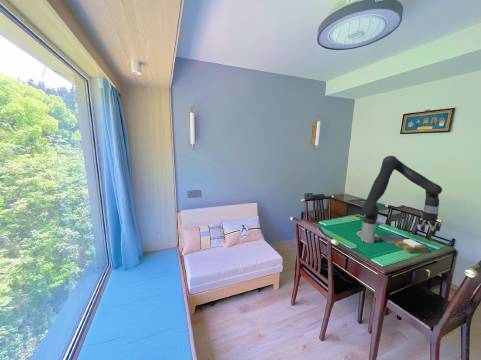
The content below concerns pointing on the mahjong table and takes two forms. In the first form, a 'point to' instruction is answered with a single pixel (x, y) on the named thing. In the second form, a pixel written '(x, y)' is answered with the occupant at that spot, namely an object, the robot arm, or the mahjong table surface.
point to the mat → (390, 238)
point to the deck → (411, 249)
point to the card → (412, 243)
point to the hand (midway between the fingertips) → (427, 233)
